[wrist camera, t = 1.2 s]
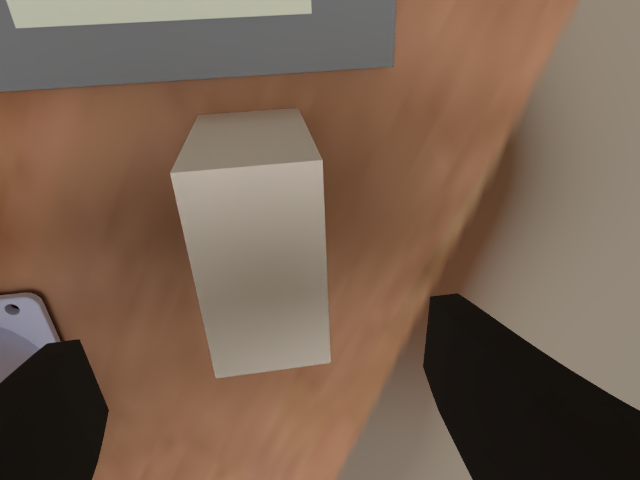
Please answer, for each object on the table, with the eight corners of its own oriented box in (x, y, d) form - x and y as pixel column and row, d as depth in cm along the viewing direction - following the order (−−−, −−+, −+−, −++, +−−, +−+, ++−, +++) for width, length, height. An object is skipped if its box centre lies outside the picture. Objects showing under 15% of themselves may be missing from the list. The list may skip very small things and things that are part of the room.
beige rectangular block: (225, 271, 18) (215, 378, 13) (198, 114, 15) (169, 172, 10) (307, 261, 18) (330, 362, 13) (298, 107, 15) (322, 160, 10)
